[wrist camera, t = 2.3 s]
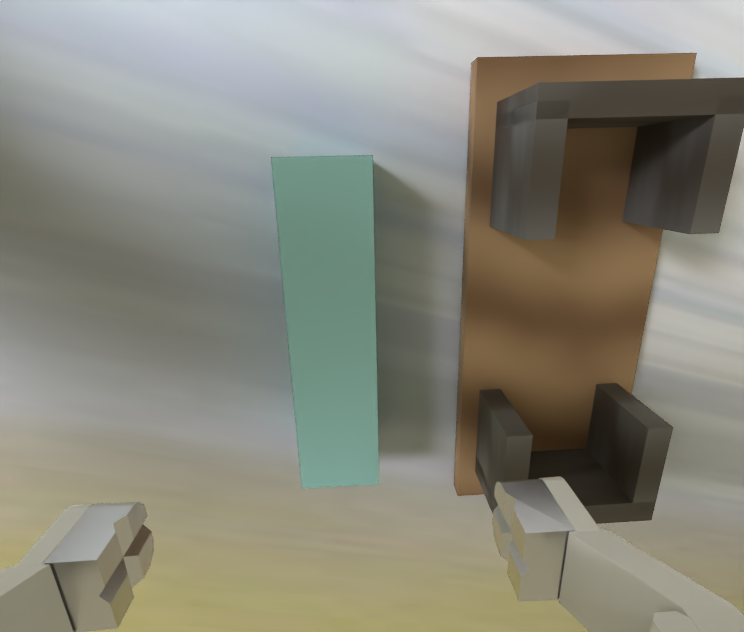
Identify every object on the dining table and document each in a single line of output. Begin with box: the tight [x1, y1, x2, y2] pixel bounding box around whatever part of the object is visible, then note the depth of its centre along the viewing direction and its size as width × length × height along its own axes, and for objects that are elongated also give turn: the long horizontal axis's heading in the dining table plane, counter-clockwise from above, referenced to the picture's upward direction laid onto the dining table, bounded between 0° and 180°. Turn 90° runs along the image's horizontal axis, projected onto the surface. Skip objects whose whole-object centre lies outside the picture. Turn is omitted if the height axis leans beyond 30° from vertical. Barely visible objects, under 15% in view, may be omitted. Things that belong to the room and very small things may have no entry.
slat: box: [271, 155, 379, 489], centre depth 21 cm, size 16×4×4 cm, turn 1°
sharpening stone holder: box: [454, 53, 744, 524], centre depth 21 cm, size 24×10×6 cm, turn 2°
